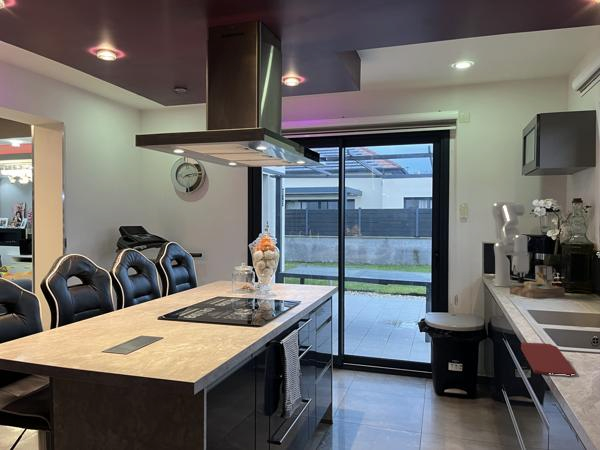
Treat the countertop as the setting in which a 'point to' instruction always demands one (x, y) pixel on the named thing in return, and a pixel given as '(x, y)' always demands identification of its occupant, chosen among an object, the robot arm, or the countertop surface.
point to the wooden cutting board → (537, 291)
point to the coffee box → (544, 274)
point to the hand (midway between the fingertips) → (520, 283)
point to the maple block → (530, 285)
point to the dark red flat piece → (546, 359)
